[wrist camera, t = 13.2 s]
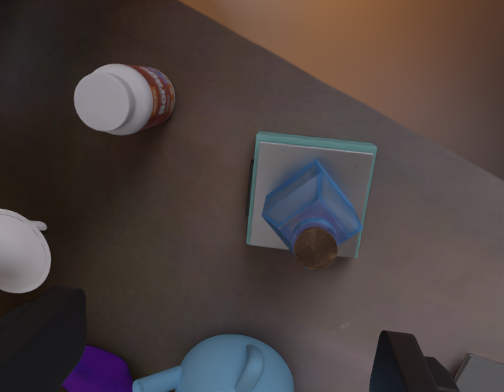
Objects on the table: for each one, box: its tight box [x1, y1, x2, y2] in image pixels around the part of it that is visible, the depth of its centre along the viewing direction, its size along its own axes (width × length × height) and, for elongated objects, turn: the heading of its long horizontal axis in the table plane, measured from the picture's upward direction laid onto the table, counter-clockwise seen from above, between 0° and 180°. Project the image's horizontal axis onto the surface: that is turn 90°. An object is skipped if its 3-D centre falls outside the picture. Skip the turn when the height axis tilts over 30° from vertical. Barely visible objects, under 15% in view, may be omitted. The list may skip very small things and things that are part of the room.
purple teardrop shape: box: [61, 345, 134, 392], centre depth 51 cm, size 5×5×15 cm
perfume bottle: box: [261, 159, 363, 270], centre depth 35 cm, size 6×6×12 cm
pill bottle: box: [74, 64, 175, 135], centre depth 38 cm, size 6×6×11 cm
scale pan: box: [250, 141, 374, 258], centre depth 41 cm, size 11×11×1 cm
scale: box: [246, 131, 377, 258], centre depth 43 cm, size 12×12×3 cm
